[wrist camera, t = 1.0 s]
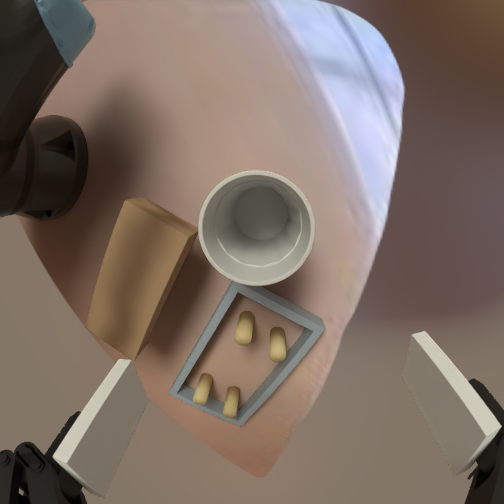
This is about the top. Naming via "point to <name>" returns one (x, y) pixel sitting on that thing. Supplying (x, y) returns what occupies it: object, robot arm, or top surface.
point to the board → (138, 274)
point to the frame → (243, 337)
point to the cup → (256, 228)
